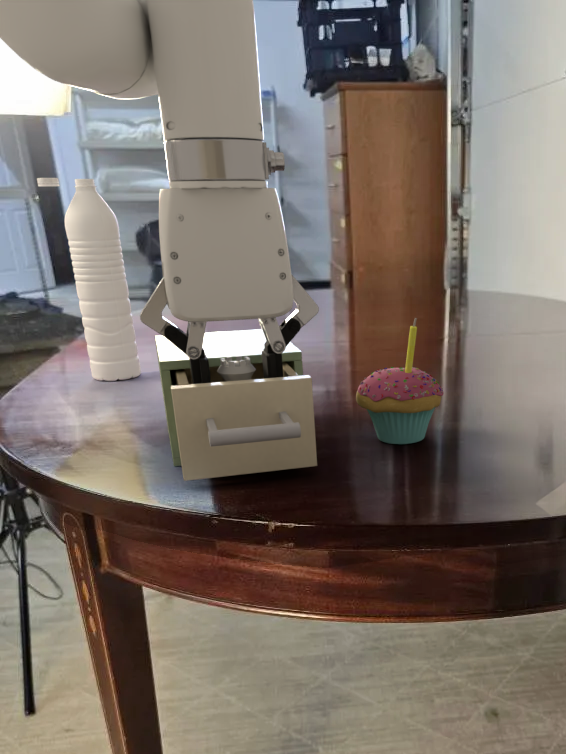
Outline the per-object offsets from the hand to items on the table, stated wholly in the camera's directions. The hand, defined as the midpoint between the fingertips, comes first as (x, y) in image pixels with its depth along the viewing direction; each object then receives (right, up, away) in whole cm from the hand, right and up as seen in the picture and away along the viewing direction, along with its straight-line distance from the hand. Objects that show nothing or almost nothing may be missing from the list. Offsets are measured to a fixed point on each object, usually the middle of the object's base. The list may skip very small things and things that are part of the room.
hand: (240, 397), depth 67 cm
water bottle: (-27, +10, +40) cm, 49 cm away
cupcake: (+14, -2, +11) cm, 18 cm away
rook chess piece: (0, -4, +2) cm, 5 cm away
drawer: (0, -5, +3) cm, 6 cm away
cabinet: (-3, -2, +12) cm, 13 cm away
